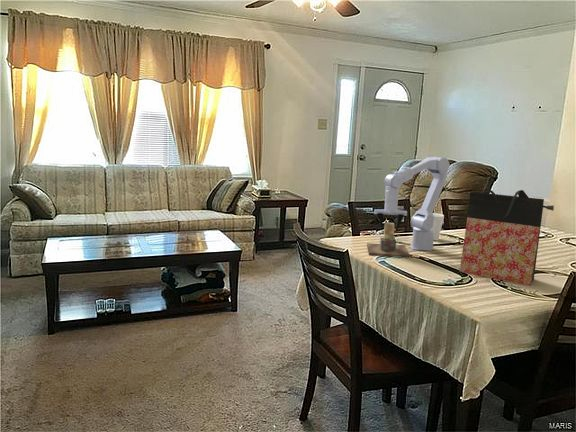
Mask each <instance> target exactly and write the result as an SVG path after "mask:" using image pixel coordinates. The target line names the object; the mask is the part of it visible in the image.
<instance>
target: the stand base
mask: <svg viewBox="0 0 576 432" xmlns="http://www.w3.org/2000/svg"><path fill="white" fill-rule="evenodd" d="M383 239H384V238H383V237H380V239H379V240H380V241H379V242H380V243H372V242H370V243H369V242H367V243H366V248H367V252H368V256H381V257H382V256H383V257H393V256H401V257H400V258H409V257H410V258H411V254H410V252H409V250H408V249H407V247H406V245H405V244H402V245H401V244H397V240H396V238H394V237H393V241H385V240H383Z"/></svg>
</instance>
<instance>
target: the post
mask: <svg viewBox="0 0 576 432" xmlns="http://www.w3.org/2000/svg"><path fill="white" fill-rule="evenodd" d="M383 228H384V229H383V237H382V238H384V239H383V240H385V241H393V238H394V235H395V223H394V222H384V225H383Z"/></svg>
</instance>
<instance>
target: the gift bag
mask: <svg viewBox="0 0 576 432" xmlns="http://www.w3.org/2000/svg"><path fill="white" fill-rule="evenodd" d="M468 200H469V201H468V210H467V219H466V225H465V233H464V239H463V246H462V252H461V259H460V266H459V273H464V274H469V275H473V276H474V275H475V276H480V277H484V278H489V279H495V280H500V281H505V282H509V283H510V282H511V283H514V284H521V285H525V286H530V287H531V285H532V284H533V282H534V280H535V275H536V274H535V273H536V265H537V256H538V250H539V241H540V235H541V226H542V221H543V220H542V219H543V213H544V208H545V209H546V210H550V211H554V210H555V208H554V207H555V205H544V204H545V203H544V202H545V199H544V198H538V197H537V198H536V197H529V196H528V195H527V194H526V192H525V191H524V190H523V189H521V190H517V191H516V192H515V193H514V195H506V194H497V193H495V192H494V191H493V190H491V189H490V188H487V189H486V191H485V192H478V191H470V192H469V199H468Z"/></svg>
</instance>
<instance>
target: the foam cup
mask: <svg viewBox="0 0 576 432" xmlns="http://www.w3.org/2000/svg"><path fill="white" fill-rule="evenodd" d="M432 214H433V216H434V221H433V227H432V229H431V230H430V231H433V233H434V240H436V241H439V239H440V234H441V230H442V226H443V223H444V219H445V215H444V214H441V213H435V212H432Z"/></svg>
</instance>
